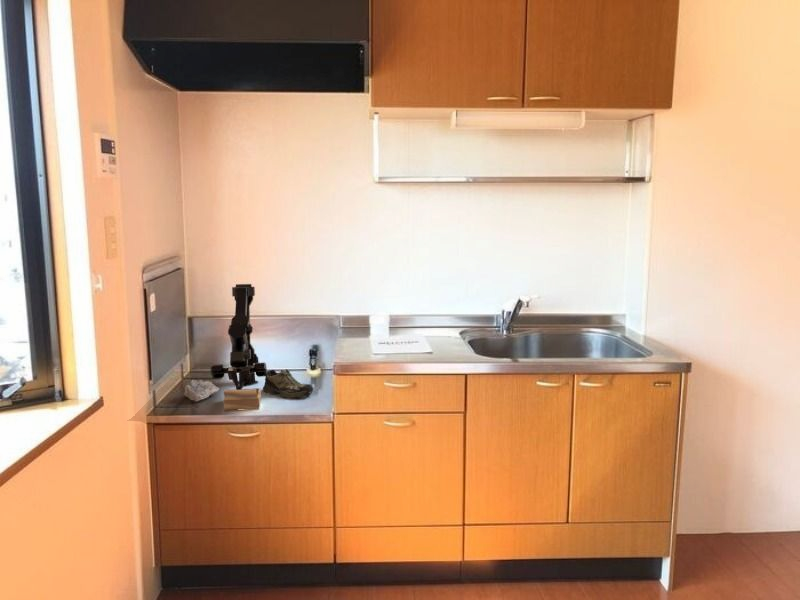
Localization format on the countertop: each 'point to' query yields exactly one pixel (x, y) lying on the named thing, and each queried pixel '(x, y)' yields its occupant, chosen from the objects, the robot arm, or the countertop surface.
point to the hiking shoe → (286, 385)
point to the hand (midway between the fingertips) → (238, 392)
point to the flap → (240, 394)
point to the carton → (243, 402)
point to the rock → (200, 390)
